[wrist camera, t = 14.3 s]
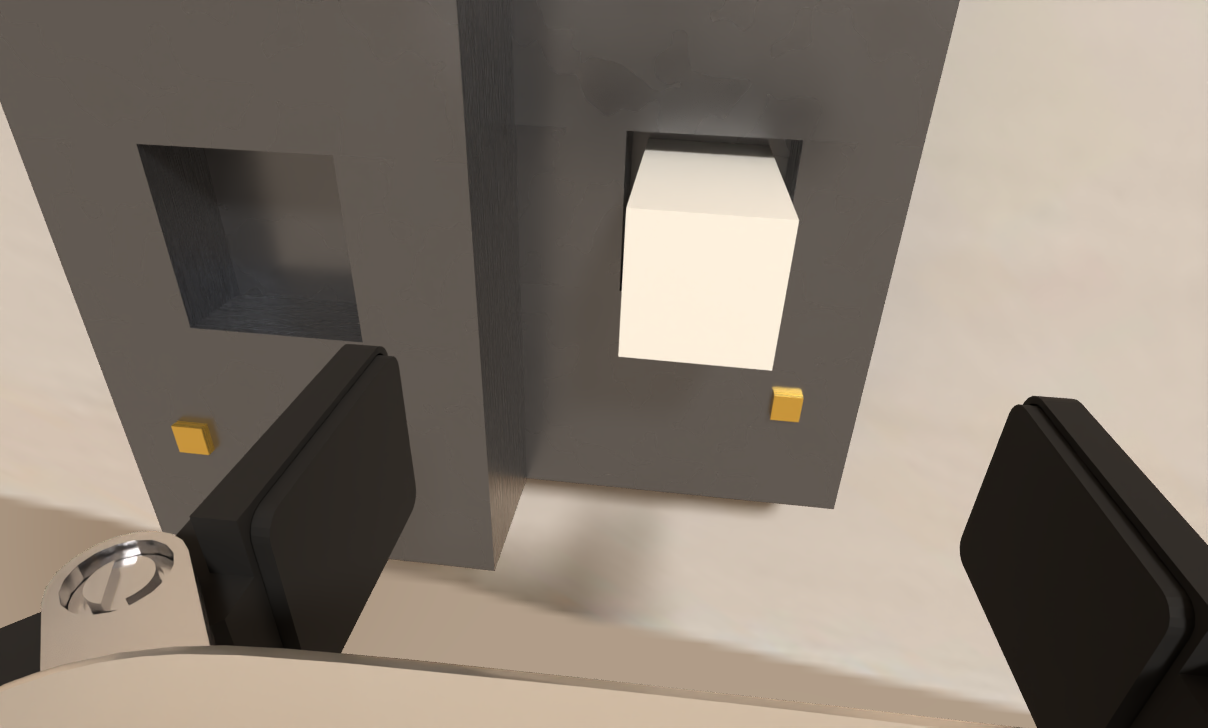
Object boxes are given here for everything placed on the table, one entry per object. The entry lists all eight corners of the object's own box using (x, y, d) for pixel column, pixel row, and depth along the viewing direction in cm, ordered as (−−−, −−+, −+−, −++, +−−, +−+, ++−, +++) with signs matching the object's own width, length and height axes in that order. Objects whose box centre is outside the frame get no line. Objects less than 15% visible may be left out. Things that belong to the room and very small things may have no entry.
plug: (648, 138, 23) (626, 207, 16) (769, 146, 23) (799, 220, 16) (640, 264, 26) (617, 373, 19) (750, 273, 25) (768, 387, 18)
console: (156, -202, 22) (-168, -306, 14) (960, -194, 19) (1144, -312, 11) (292, 398, 32) (157, 538, 24) (818, 447, 30) (861, 620, 22)
